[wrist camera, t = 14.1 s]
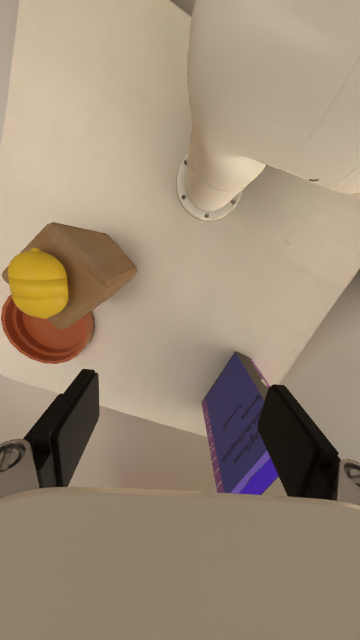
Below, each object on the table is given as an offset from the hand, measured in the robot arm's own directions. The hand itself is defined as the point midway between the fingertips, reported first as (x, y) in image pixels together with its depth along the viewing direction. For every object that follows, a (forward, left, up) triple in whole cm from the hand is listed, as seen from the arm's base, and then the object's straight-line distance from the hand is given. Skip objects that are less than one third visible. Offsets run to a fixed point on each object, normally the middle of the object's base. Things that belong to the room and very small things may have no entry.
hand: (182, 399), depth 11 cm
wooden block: (-3, -15, -36) cm, 40 cm away
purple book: (+24, +15, -36) cm, 46 cm away
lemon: (-3, -15, -16) cm, 22 cm away
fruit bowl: (+10, -27, -36) cm, 46 cm away
